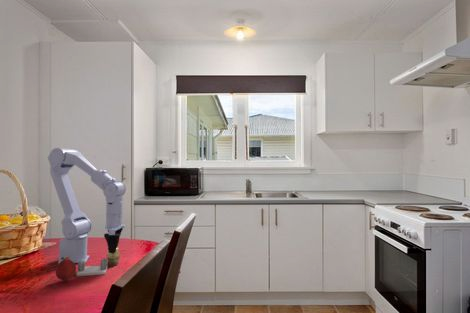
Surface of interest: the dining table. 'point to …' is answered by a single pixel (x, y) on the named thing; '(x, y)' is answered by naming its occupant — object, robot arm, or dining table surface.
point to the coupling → (113, 258)
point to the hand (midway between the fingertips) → (113, 249)
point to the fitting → (91, 268)
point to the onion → (65, 269)
